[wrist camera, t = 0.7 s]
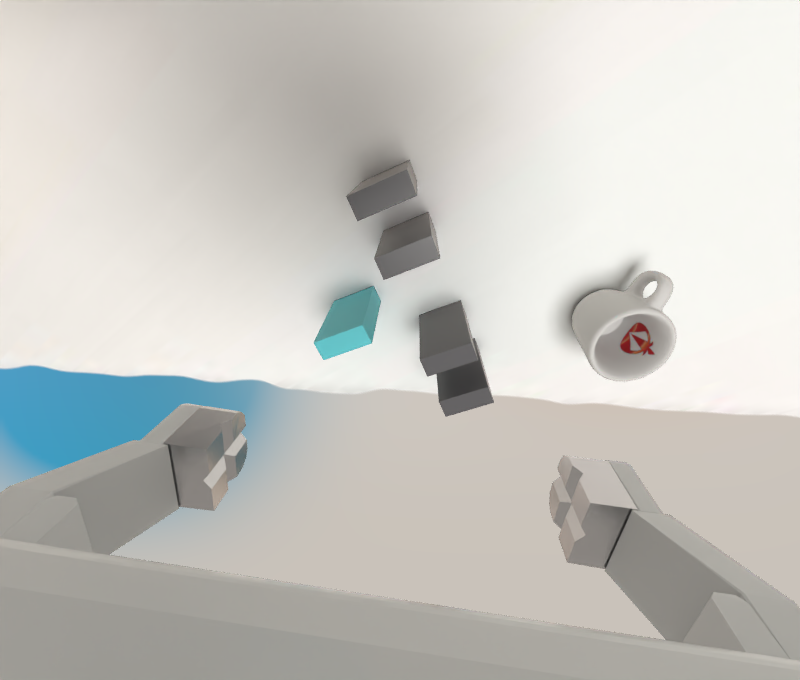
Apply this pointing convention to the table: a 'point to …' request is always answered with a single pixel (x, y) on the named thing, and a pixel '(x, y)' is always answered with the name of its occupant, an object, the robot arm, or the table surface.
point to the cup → (626, 329)
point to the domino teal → (349, 323)
